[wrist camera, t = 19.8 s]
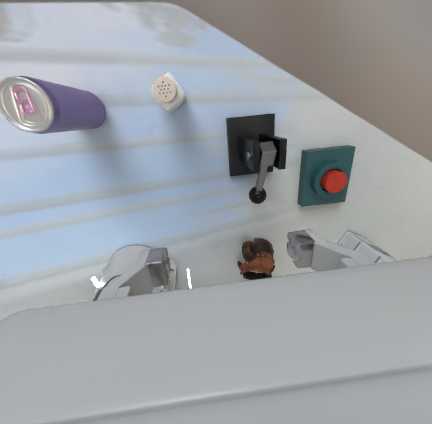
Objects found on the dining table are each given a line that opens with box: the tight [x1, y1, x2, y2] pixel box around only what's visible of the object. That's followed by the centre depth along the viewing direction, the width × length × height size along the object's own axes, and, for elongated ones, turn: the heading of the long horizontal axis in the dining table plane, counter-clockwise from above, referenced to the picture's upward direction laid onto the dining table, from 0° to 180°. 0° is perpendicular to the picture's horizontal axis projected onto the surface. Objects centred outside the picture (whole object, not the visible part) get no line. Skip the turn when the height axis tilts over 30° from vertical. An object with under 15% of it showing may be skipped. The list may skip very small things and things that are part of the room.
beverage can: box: [0, 76, 105, 134], centre depth 30 cm, size 6×6×15 cm
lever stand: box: [226, 114, 287, 176], centre depth 36 cm, size 11×9×12 cm
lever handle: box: [249, 141, 277, 204], centre depth 36 cm, size 13×3×3 cm, turn 6°
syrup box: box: [337, 231, 398, 264], centre depth 47 cm, size 6×6×14 cm
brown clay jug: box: [238, 238, 275, 280], centre depth 50 cm, size 12×9×8 cm
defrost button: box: [321, 170, 347, 193], centre depth 41 cm, size 4×4×2 cm
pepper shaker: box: [151, 73, 186, 112], centre depth 32 cm, size 4×4×10 cm
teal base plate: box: [298, 145, 355, 207], centre depth 43 cm, size 12×10×4 cm
